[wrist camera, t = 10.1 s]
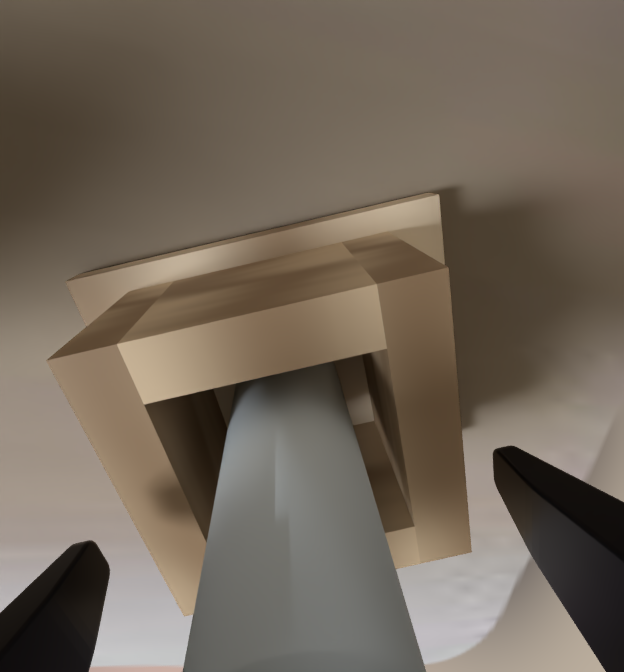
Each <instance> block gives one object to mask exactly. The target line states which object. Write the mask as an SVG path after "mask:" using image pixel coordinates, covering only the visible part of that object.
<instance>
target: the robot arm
mask: <svg viewBox="0 0 624 672" xmlns="http://www.w3.org/2000/svg"><path fill="white" fill-rule="evenodd" d="M493 469H494V481H495V484H496V487H497V489H498V491H499V493H500V495H501V497H502V499H503V501H504V503H505V505H506V507H507V509H508V511H509V513H510V515H511V517H512V519H513V521H514V523H515V525H516V527H517V528H518V530H519V532H520V534H521V536H522V538H523V540H524V542H525V544H526V546H527V548H528V550H529V552H530V554H531V555H532V557H533V559H534V560H535V562H536V564H537V565H538V567H539V568H540V570H541V571H542V573H543V575H544V576H545V578H546V579H547V581H548V582H549V584H550V585H551V587H552V589H553V590H554V592H555V593H556V595H557V596H558V598H559V599H560V601H561V602H562V604H563V606H564V607H565V609H566V610H567V612H568V613H569V615H570V617H571V618H572V620H573V621H574V623H575V624H576V626H577V627H578V629H579V631H580V632H581V634H582V635H583V637H584V638H585V640H586V641H587V643H588V645H589V646H590V647H591V649H592V651H593V652H594V654H595V655H596V657H597V658H598V660H599V662H600V663H601V665H602V666H603V668H604V669H605V671H606V672H624V502H622V501H620V500H619V499H616V498H615V497H613V496H611V495H608V494H607V493H605V492H603V491H601V490H599V489H597V488H595V487H593V486H591V485H589V484H587V483H585V482H583V481H582V480H580V479H578V478H576V477H574V476H572V475H570V474H568V473H566V472H564V471H562V470H560V469H558V468H556V467H554V466H552V465H550V464H548V463H546V462H545V461H543V460H541V459H539V458H537V457H535V456H533V455H531V454H529V453H527V452H525V451H523V450H521V449H519V448H517V447H515V446H506V447H501V448H497V449H495V450H494V452H493ZM109 576H110V569H109V564H108V562H107V561H106V559H105V557H104V556H103V554H102V552H101V551H100V549H99V547H98V546H97V544H96V543H95V542H94V541H90V540H89V541H84V542H80V543H76V544H73V545H72V546H70V547H69V548H68V549H67V550H66V551H65V552H64V553H63V554H62V555H61V556H60V557H59V558H58V559H56V560H55V561H54V562H53V563H52V564H51V565H50V566H49V567H48V568H47V569H46V570H45V571H44V572H43V573H42V574H41V575H40V576H39V577H38V578H36V579H35V580H34V581H33V582H32V583H31V584H30V585H29V586H28V587H27V588H26V589H25V590H24V591H23V592H22V593H21V594H20V595H19V596H18V597H17V598H15V599H14V600H13V601H12V602H11V603H10V604H9V605H8V606H7V607H6V608H5V609H4V610H3V611H2V612H1V613H0V672H89V668H90V665H91V661H92V658H93V654H94V650H95V645H96V641H97V636H98V631H99V626H100V621H101V616H102V611H103V606H104V601H105V596H106V591H107V586H108V581H109Z"/></svg>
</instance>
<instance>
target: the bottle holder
mask: <svg viewBox="0 0 624 672" xmlns="http://www.w3.org/2000/svg"><path fill="white" fill-rule="evenodd" d="M65 283H66V285H67V287H68V289H69V291H70V293H71V295H72V297H73V300H74V302H75V304H76V306H77V308H78V310H79V312H80V314H81V316H82V318H83V321H84V323H85V325H86V328H85V329H83V330H82V331H81V332H80V333H79V334H77V335H76V336H75V337H74V338H73V339H71V340H70V341H69V342H68V343H67V344H65V345H64V346H63V347H62V348H61V349H59V350H58V351H57V352H56V353H55V354H54V355H52V356H51V357H50V358H49V359H48V360H46V361H47V363H48V365H49V367H50V368H51V370H52V372H53V374H54V376H55V378H56V380H57V381H58V383H59V385H60V387H61V389H62V391H63V393H64V394H65V396H66V398H67V400H68V402H69V404H70V406H71V407H72V409H73V411H74V413H75V415H76V417H77V419H78V420H79V422H80V424H81V426H82V428H83V430H84V431H85V433H86V435H87V437H88V439H89V441H90V443H91V444H92V446H93V448H94V450H95V452H96V454H97V456H98V457H99V459H100V461H101V463H102V465H103V467H104V469H105V470H106V472H107V474H108V476H109V478H110V480H111V482H112V483H113V485H114V487H115V489H116V491H117V493H118V495H119V496H120V498H121V500H122V502H123V504H124V506H125V508H126V509H127V511H128V513H129V515H130V517H131V519H132V521H133V522H134V524H135V526H136V528H137V530H138V532H139V534H140V535H141V537H142V539H143V541H144V543H145V545H146V547H147V548H148V550H149V552H150V554H151V556H152V558H153V559H154V561H155V563H156V565H157V567H158V569H159V571H160V572H161V574H162V576H163V578H164V580H165V582H166V584H167V585H168V587H169V589H170V591H171V593H172V595H173V597H174V598H175V600H176V602H177V604H178V606H179V608H180V610H181V611H182V613H183V615H184V616H188V615H192V614H194V608H195V603H196V598H197V592H198V587H199V581H200V576H201V571H202V565H203V560H204V554H205V549H206V544H207V538H208V533H209V527H210V522H211V517H212V511H213V506H214V500H215V495H216V489H217V484H218V479H219V473H220V468H221V462H222V457H223V452H224V446H225V441H226V435H227V430H228V425H229V419H230V414H231V408H232V403H233V398H234V392H235V387H236V383H240V382H244V381H248V380H253V379H257V378H262V377H266V376H270V375H275V374H279V373H283V372H288V371H292V370H296V369H301V368H305V367H309V366H314V365H318V364H323V363H327V362H331V361H334V364H335V367H336V370H337V374H338V377H339V380H340V384H341V387H342V391H343V394H344V397H345V401H346V404H347V407H348V411H349V414H350V417H351V421H352V424H353V428H354V431H355V434H356V438H357V441H358V444H359V448H360V451H361V454H362V458H363V461H364V465H365V468H366V471H367V475H368V478H369V481H370V485H371V488H372V492H373V495H374V498H375V502H376V505H377V508H378V512H379V515H380V518H381V522H382V525H383V529H384V532H385V535H386V539H387V542H388V545H389V549H390V552H391V555H392V559H393V562H394V566H395V569H398V568H403V567H407V566H412V565H416V564H421V563H425V562H430V561H434V560H439V559H443V558H448V557H452V556H457V555H461V554H466V553H470V552H472V551H471V539H470V527H469V514H468V502H467V490H466V477H465V465H464V452H463V440H462V428H461V415H460V403H459V390H458V378H457V366H456V353H455V341H454V329H453V316H452V304H451V291H450V279H449V267H447V266H445V259H444V247H443V235H442V223H441V211H440V199H439V194H433V193H424V194H420V195H416V196H412V197H407V198H403V199H399V200H394V201H390V202H386V203H382V204H377V205H373V206H369V207H364V208H360V209H356V210H352V211H347V212H343V213H339V214H334V215H330V216H326V217H322V218H317V219H313V220H309V221H305V222H300V223H296V224H292V225H287V226H283V227H279V228H275V229H270V230H266V231H262V232H257V233H253V234H249V235H245V236H240V237H236V238H232V239H228V240H223V241H219V242H215V243H210V244H206V245H202V246H198V247H193V248H189V249H185V250H180V251H176V252H172V253H168V254H163V255H159V256H155V257H150V258H146V259H142V260H138V261H133V262H129V263H125V264H121V265H116V266H112V267H108V268H103V269H99V270H95V271H91V272H86V273H82V274H79V275H77V276H75V277H73V278H71V279H69V280H68V281H66V282H65Z"/></svg>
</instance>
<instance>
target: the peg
mask: <svg viewBox="0 0 624 672" xmlns="http://www.w3.org/2000/svg"><path fill="white" fill-rule="evenodd" d="M183 672H426V670H425V666H424V663H423V660H422V656H421V653H420V650H419V646H418V643H417V640H416V636H415V633H414V629H413V626H412V623H411V619H410V616H409V613H408V609H407V606H406V603H405V599H404V596H403V592H402V589H401V586H400V582H399V579H398V576H397V572H396V569H395V566H394V562H393V559H392V555H391V552H390V549H389V545H388V542H387V539H386V535H385V532H384V529H383V525H382V522H381V518H380V515H379V512H378V508H377V505H376V502H375V498H374V495H373V492H372V488H371V485H370V481H369V478H368V475H367V471H366V468H365V465H364V461H363V458H362V454H361V451H360V448H359V444H358V441H357V438H356V434H355V431H354V428H353V424H352V421H351V417H350V414H349V411H348V407H347V404H346V401H345V397H344V394H343V391H342V387H341V384H340V380H339V377H338V374H337V370H336V367H335V364H334V361H331V362H327V363H323V364H318V365H314V366H309V367H305V368H301V369H296V370H292V371H288V372H283V373H279V374H275V375H270V376H266V377H262V378H257V379H253V380H248V381H244V382H240V383H236V387H235V392H234V398H233V403H232V408H231V414H230V419H229V425H228V430H227V435H226V441H225V446H224V452H223V457H222V462H221V468H220V473H219V479H218V484H217V489H216V495H215V500H214V506H213V511H212V517H211V522H210V527H209V533H208V538H207V544H206V549H205V554H204V560H203V565H202V571H201V576H200V581H199V587H198V592H197V598H196V603H195V608H194V614H193V619H192V625H191V630H190V635H189V641H188V646H187V652H186V657H185V662H184V668H183Z"/></svg>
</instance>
